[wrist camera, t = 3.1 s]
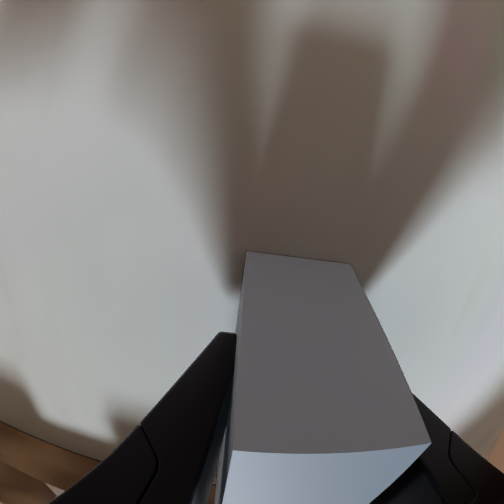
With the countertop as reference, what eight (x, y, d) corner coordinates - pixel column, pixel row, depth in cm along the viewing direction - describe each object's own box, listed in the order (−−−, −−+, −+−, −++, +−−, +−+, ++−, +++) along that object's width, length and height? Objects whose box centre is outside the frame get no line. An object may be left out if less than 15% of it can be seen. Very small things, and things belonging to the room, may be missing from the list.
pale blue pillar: (350, 264, 8) (430, 442, 3) (268, 481, 13) (269, 570, 8) (246, 251, 8) (232, 450, 3) (216, 477, 13) (208, 567, 8)
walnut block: (220, 485, 13) (213, 570, 8) (218, 497, 14) (212, 573, 9) (-7, 418, 12) (-38, 477, 8) (5, 435, 13) (-22, 491, 9)
